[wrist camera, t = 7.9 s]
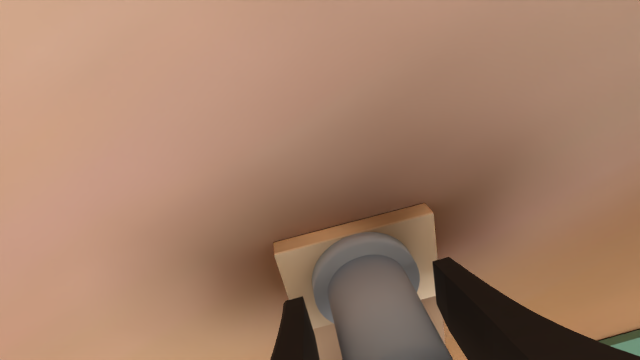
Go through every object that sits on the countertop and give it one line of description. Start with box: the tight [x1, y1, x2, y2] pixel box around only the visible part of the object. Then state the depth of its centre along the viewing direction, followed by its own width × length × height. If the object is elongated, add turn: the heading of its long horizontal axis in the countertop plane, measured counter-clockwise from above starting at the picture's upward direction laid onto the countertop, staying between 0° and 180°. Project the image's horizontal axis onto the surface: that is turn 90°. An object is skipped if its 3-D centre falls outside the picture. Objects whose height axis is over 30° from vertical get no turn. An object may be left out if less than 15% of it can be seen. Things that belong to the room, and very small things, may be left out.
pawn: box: [312, 232, 453, 360], centre depth 12 cm, size 4×4×6 cm
